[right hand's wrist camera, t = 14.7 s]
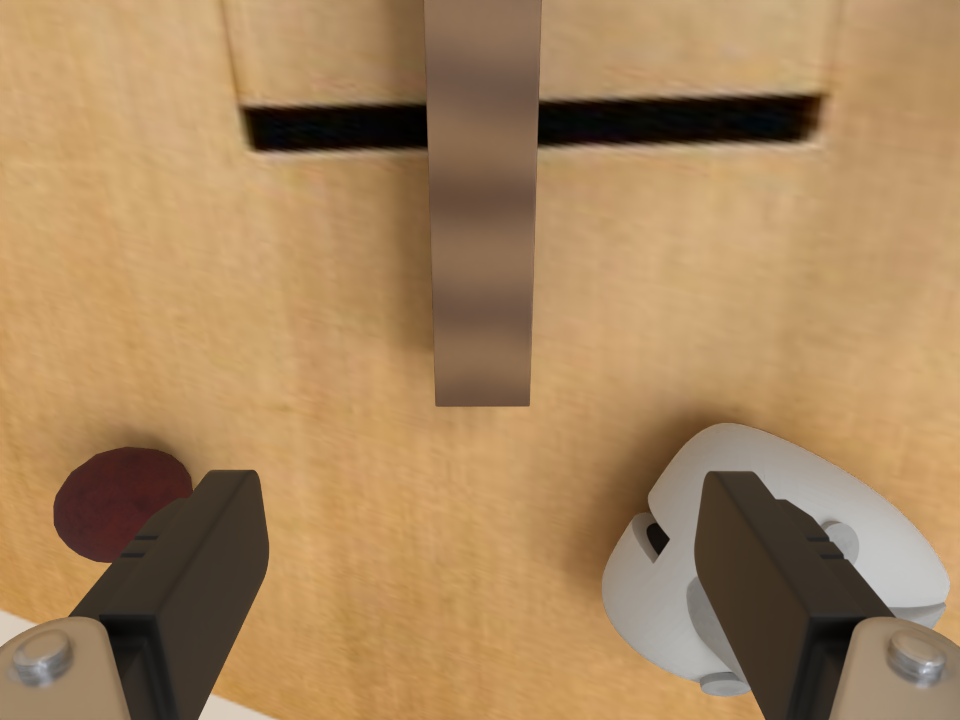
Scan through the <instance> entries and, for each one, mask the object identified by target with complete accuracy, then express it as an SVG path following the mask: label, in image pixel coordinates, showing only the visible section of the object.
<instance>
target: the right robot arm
mask: <svg viewBox="0 0 960 720" xmlns="http://www.w3.org/2000/svg"><path fill="white" fill-rule="evenodd" d="M694 559H695V566H696V571H697V575H698V578H699V580H700V583H701V585H702V587H703V589H704V591H705V593H706V595H707V597H708V599H709V602H710V604H711V606H712V608H713V610H714V612H715V614H716V616H717V618H718V621H719V623H720V625H721V627H722V629H723V631H724V633H725V635H726V637H727V640H728V642H729V644H730V646H731V648H732V650H733V652H734V654H735V656H736V658H737V661H738V663H739V665H740V667H741V669H742V671H743V673H744V675H745V677H746V680H747V682H748V684H749V686H750V688H751V690H752V692H753V694H754V696H755V699H756V701H757V703H758V705H759V707H760V709H761V711H762V713H763V715H764V718H765V720H960V647H959V646H958V645H956V644H955V643H954V642H952V641H951V640H949V639H948V638H946V637H945V636H943V635H941V634H940V633H938V632H936V631H934V630H932V629H930V628H927V627H925V626H923V625H920V624H918V623H915V622H912V621H908V620H904V619H900V618H896V616H895V615H894V614H893V613H892V612H891V610H890V609H889V608H888V607H887V606H886V604H885V603H884V602H883V601H882V600H881V598H880V597H879V596H878V595H877V594H876V592H875V591H874V590H873V589H872V588H871V586H870V585H869V584H868V583H867V582H866V580H865V579H864V578H863V577H862V576H861V574H860V573H859V572H858V571H857V570H856V568H855V567H854V566H853V565H852V564H851V562H850V561H849V560H848V559H844V554H843V553H842V552H841V550H840V549H839V548H838V547H837V546H836V544H835V543H834V542H830V537H829V536H828V535H827V534H826V532H825V531H824V530H823V529H822V528H821V526H820V525H819V524H818V523H817V522H816V520H815V519H814V518H813V517H812V516H810V515H809V514H807V513H806V512H804V511H803V510H801V509H800V508H798V507H797V506H795V505H794V504H792V503H791V502H789V501H788V500H786V499H775V497H774V496H773V495H772V494H771V492H770V491H769V490H768V488H767V487H766V486H765V485H764V483H763V482H762V481H761V479H760V478H759V477H758V476H757V474H756V473H754V472H753V471H709V472H708V473H707V474H706V476H705V478H704V482H703V488H702V495H701V502H700V508H699V515H698V522H697V529H696V536H695V543H694ZM268 560H269V540H268V533H267V526H266V519H265V512H264V505H263V498H262V491H261V484H260V479H259V476H258V474H257V472H256V471H255V470H211V471H209V472H208V473H207V474H206V475H205V477H204V478H203V479H202V481H201V482H200V483H199V484H198V486H197V487H196V488H195V490H194V491H193V492H192V494H191V495H190V496H189V498H177V499H176V500H174V501H173V502H171V503H170V504H168V505H167V506H165V507H164V508H162V509H161V510H159V511H158V512H156V513H155V514H153V515H152V516H151V517H150V518H149V519H148V520H147V522H146V523H145V524H144V525H143V527H142V528H141V529H140V530H139V531H138V533H137V534H136V535H135V539H134V540H131V541H130V542H129V543H128V545H127V546H126V547H125V548H124V550H123V551H122V552H121V556H120V558H116V559H115V560H114V562H113V563H112V564H111V565H110V566H109V568H108V569H107V570H106V571H105V573H104V574H103V575H102V576H101V577H100V579H99V580H98V581H97V582H96V583H95V585H94V586H93V587H92V588H91V590H90V591H89V592H88V593H87V594H86V596H85V597H84V598H83V599H82V600H81V602H80V603H79V604H78V605H77V606H76V608H75V609H74V610H73V611H72V613H71V614H70V615H69V616H68V617H66V618H60V619H56V620H52V621H48V622H45V623H42V624H40V625H37V626H35V627H33V628H30V629H28V630H26V631H24V632H22V633H20V634H19V635H17V636H15V637H14V638H12V639H11V640H9V641H8V642H6V643H5V644H4V645H2V646H1V647H0V720H198V718H199V716H200V714H201V712H202V710H203V708H204V706H205V704H206V701H207V699H208V697H209V695H210V693H211V691H212V689H213V686H214V684H215V682H216V680H217V678H218V676H219V674H220V672H221V669H222V667H223V665H224V663H225V661H226V659H227V657H228V654H229V652H230V650H231V648H232V646H233V644H234V642H235V640H236V637H237V635H238V633H239V631H240V629H241V627H242V625H243V622H244V620H245V618H246V616H247V614H248V612H249V610H250V608H251V605H252V603H253V601H254V599H255V597H256V595H257V593H258V590H259V588H260V586H261V584H262V582H263V580H264V577H265V574H266V571H267V566H268Z"/></svg>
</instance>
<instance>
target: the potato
mask: <svg viewBox="0 0 960 720" xmlns="http://www.w3.org/2000/svg"><path fill="white" fill-rule="evenodd" d="M192 492H193V489H192V483H191V477H190V475H189V473H188V472H187V470H186V469H185V467H184V465H183V464H182V463H180V462H179V461H178V460H177V459H175V458H174V457H173V456H171V455H169V454H167V453H164V452H161V451H159V450H156V449H145V448H135V447H124V448H119V449H114V450H110V451H106V452H103V453H100V454H96V455H95V456H93V457H92V458H91V459H89V460H88V461H87V462H86V463H84V464H83V465H81V466H80V467H78V468H77V469H75V470H74V471H72V472H71V474H70V475H69V476H68V478H67V479H66V481H65V482H64V484H63V485H62V487H61V488H60V490H59V492H58V493H57V495H56V497H55V502H54V526H55V528H56V530H57V532H58V535H59V537H60V538H61V539H62V540H63V541H64V542H65V544H66V545H67V546H68V547H69V548H71V549H72V550H73V551H75V552H76V553H78V554H79V555H81V556H83V557H86V558H88V559H90V560H93V561H96V562H104V563H113V562H114V560H115V559H116V558H120V556H121V552H122V551H123V550H124V548H125V547H126V546H127V545H128V543H129V542H130V541H131V540H134V539H135V535H136V534H137V533H138V531H139V530H140V529H141V528H142V527H143V525H144V524H145V523H146V522H147V520H148V519H149V518H150V517H151V516H152V515H153V514H155V513H156V512H158V511H159V510H161V509H162V508H164V507H165V506H167V505H168V504H170V503H171V502H173V501H174V500H176V499H177V498H189V496H190V495H191V494H192Z"/></svg>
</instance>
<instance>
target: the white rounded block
mask: <svg viewBox="0 0 960 720" xmlns="http://www.w3.org/2000/svg"><path fill="white" fill-rule="evenodd" d="M709 471H753V472H754V473H756V474H757V476H758V477H759V478H760V479H761V481H762V482H763V483H764V485H765V486H766V487H767V488H768V490H769V491H770V492H771V494H772V495H773V496H774V497H775V499H786V500H788V501H789V502H791V503H792V504H794V505H795V506H797V507H798V508H800V509H801V510H803V511H804V512H806V513H807V514H809V515H810V516H812V517H813V518H814V519H815V520H816V522H817V523H818V524H819V525H820V526H821V528H822V529H823V530H824V531H825V532H826V534H827V535H828V536H829V537H830V542H834V543H835V544H836V546H837V547H838V548H839V549H840V550H841V552H842V553H843V554H844V559H848V560H849V561H850V562H851V564H852V565H853V566H854V567H855V568H856V570H857V571H858V572H859V573H860V574H861V576H862V577H863V578H864V579H865V580H866V582H867V583H868V584H869V585H870V586H871V588H872V589H873V590H874V591H875V592H876V594H877V595H878V596H879V597H880V598H881V600H882V601H883V602H884V603H885V604H886V606H887V607H888V608H889V609H890V610H891V612H892V613H893V614H894V615H895V616H896V618H900V619H904V620H908V621H912V622H915V623H918V624H920V625H923V626H925V627H927V628H930V629H933V628H934V626H935V625H936V623H937V622H938V621H939V619H940V618H941V616H942V614H943V612H944V610H945V608H946V604H945V603H944V601H945V599H946V597H947V595H948V593H949V589H950V580H949V576H948V574H947V571H946V569H945V568H944V566H943V564H942V562H941V560H940V559H939V557H938V555H937V554H936V552H935V551H934V549H933V548H932V547H931V545H930V544H929V543H928V541H927V540H926V539H925V537H924V536H923V535H922V534H921V533H920V532H919V530H918V529H917V528H916V527H915V526H914V525H913V524H912V523H911V522H910V521H909V520H908V519H907V518H906V517H905V516H904V515H903V514H902V513H901V512H900V511H899V510H898V509H897V508H896V507H895V506H893V505H892V504H891V503H890V502H889V501H888V500H886V499H885V498H884V497H883V496H881V495H880V494H879V493H877V492H876V491H874V490H873V489H872V488H870V487H869V486H868V485H866V484H865V483H863V482H862V481H860V480H859V479H857V478H856V477H854V476H852V475H851V474H849V473H848V472H846V471H844V470H843V469H841V468H839V467H838V466H836V465H834V464H832V463H830V462H829V461H827V460H825V459H823V458H821V457H819V456H818V455H816V454H814V453H812V452H810V451H808V450H806V449H804V448H802V447H800V446H798V445H795V444H793V443H791V442H789V441H787V440H784V439H782V438H780V437H777V436H775V435H772V434H770V433H767V432H765V431H762V430H759V429H756V428H753V427H750V426H746V425H742V424H736V423H720V424H715V425H712V426H710V427H708V428H705V429H704V430H702V431H700V432H699V433H697V434H696V435H695V436H693V437H692V438H691V439H690V440H689V441H688V442H687V443H686V444H685V445H684V446H683V447H682V448H681V449H680V450H679V452H678V453H677V454H676V455H675V457H674V458H673V459H672V461H671V462H670V463H669V465H668V466H667V467H666V469H665V470H664V472H663V473H662V475H661V476H660V477H659V479H658V480H657V482H656V483H655V485H654V486H653V488H652V489H651V491H650V493H649V495H648V503H649V507H650V510H651V512H652V513H639V514H637V515H635V516H634V517H633V519H632V520H631V522H630V523H629V525H628V526H627V528H626V530H625V531H624V533H623V534H622V536H621V538H620V539H619V541H618V543H617V544H616V546H615V548H614V550H613V552H612V554H611V555H610V558H609V560H608V562H607V564H606V567H605V570H604V573H603V578H602V599H603V604H604V607H605V610H606V613H607V615H608V617H609V619H610V621H611V623H612V624H613V626H614V628H615V629H616V630H617V632H618V633H619V634H620V636H621V637H622V638H623V639H624V640H625V641H626V642H627V643H628V644H629V645H630V646H631V647H632V648H633V649H634V650H635V651H637V652H638V653H639V654H640V655H642V656H643V657H644V658H646V659H647V660H649V661H650V662H652V663H654V664H655V665H657V666H658V667H660V668H662V669H663V670H666V671H668V672H670V673H672V674H675V675H677V676H679V677H682V678H685V679H688V680H691V681H694V682H698V683H700V685H701V690H702V691H703V692H704V693H707V694H710V695H714V696H737V695H742V694H745V693H747V692H749V691H750V690H751V688H750V686H749V684H748V682H747V680H746V677H745V675H744V673H743V671H742V669H741V667H740V665H739V663H738V661H737V658H736V656H735V654H734V652H733V650H732V648H731V646H730V644H729V642H728V640H727V637H726V635H725V633H724V631H723V629H722V627H721V625H720V623H719V621H718V618H717V616H716V614H715V612H714V610H713V608H712V606H711V604H710V602H709V599H708V597H707V595H706V593H705V591H704V589H703V587H702V585H701V583H700V580H699V578H698V575H697V571H696V566H695V559H694V543H695V536H696V529H697V522H698V515H699V508H700V502H701V495H702V488H703V482H704V478H705V476H706V474H707V473H708V472H709Z"/></svg>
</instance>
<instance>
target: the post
mask: <svg viewBox="0 0 960 720" xmlns="http://www.w3.org/2000/svg"><path fill="white" fill-rule="evenodd" d="M541 5H542V0H424V33H425V66H426V100H427V134H428V168H429V202H430V236H431V269H432V303H433V337H434V371H435V405H436V406H437V407H454V406H530V378H531V344H532V310H533V276H534V242H535V209H536V175H537V141H538V107H539V73H540V39H541Z"/></svg>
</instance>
